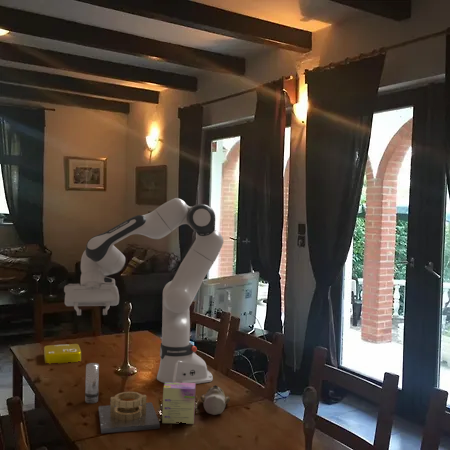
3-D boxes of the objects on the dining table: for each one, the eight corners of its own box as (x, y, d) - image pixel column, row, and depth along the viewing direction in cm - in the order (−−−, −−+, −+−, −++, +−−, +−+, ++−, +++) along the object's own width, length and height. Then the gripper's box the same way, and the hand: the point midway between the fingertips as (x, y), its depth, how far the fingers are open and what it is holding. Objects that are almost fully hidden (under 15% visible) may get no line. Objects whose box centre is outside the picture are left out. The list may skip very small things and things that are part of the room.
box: (194, 417, 178) (195, 382, 178) (194, 424, 172) (195, 388, 172) (163, 416, 178) (164, 381, 177) (161, 423, 172) (162, 387, 172)
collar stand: (151, 406, 186) (152, 385, 185) (159, 428, 168) (160, 405, 168) (98, 410, 181) (99, 388, 180) (101, 433, 164) (101, 409, 163)
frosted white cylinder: (98, 398, 192) (98, 362, 191) (98, 403, 187) (99, 366, 187) (84, 399, 190) (85, 363, 190) (85, 403, 186) (85, 367, 185)
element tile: (78, 352, 246) (78, 342, 246) (81, 362, 232) (81, 351, 232) (43, 354, 241) (44, 344, 241) (45, 365, 227) (45, 354, 227)
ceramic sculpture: (198, 390, 178) (201, 378, 193) (197, 416, 178) (200, 402, 193) (230, 392, 178) (231, 379, 193) (229, 418, 178) (229, 403, 193)
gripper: (64, 279, 203) (63, 310, 194) (118, 279, 209) (120, 309, 200) (64, 288, 208) (63, 319, 199) (117, 288, 213) (118, 318, 204)
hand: (92, 314), depth 199 cm, fingers open, 8 cm apart
